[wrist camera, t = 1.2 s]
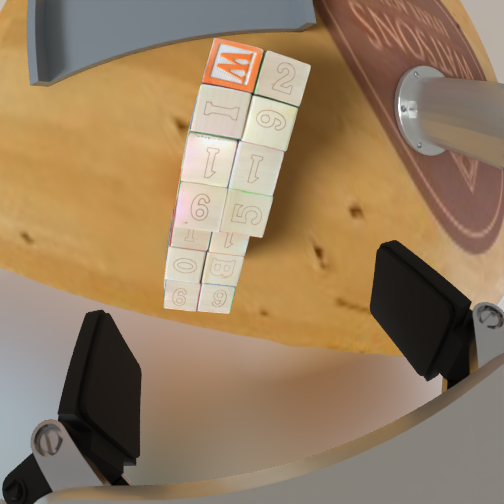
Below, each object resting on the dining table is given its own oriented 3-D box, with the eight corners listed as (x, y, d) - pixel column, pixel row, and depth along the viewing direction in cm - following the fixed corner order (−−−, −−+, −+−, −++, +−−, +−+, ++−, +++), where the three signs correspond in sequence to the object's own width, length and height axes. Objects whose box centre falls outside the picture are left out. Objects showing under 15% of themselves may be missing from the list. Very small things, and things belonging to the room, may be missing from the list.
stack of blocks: (218, 264, 34) (234, 338, 23) (165, 258, 32) (159, 332, 21) (265, 80, 25) (314, 63, 14) (204, 66, 23) (215, 34, 13)
